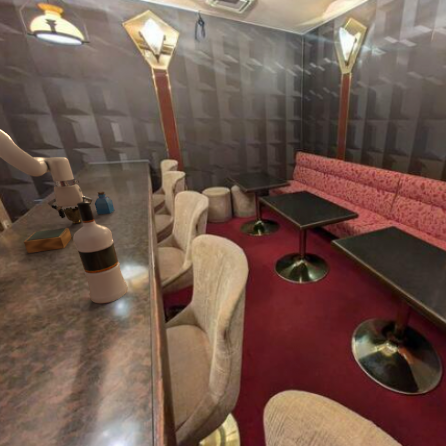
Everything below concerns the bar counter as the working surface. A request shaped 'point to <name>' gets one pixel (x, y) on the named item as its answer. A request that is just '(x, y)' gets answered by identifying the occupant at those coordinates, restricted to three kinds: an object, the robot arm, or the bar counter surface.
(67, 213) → the cup
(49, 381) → the bar counter surface
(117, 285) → the vodka
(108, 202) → the perfume bottle
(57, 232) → the riser
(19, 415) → the bar counter surface
